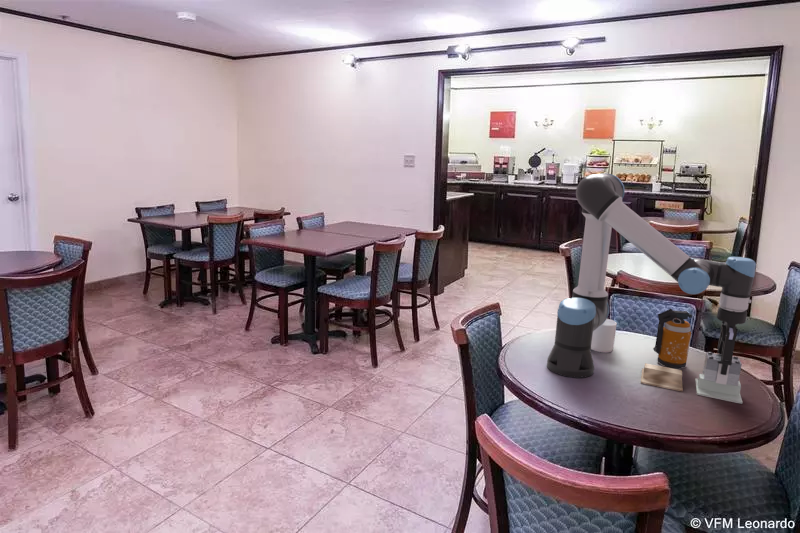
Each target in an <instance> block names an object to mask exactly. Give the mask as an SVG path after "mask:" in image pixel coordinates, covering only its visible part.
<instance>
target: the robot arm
mask: <svg viewBox="0 0 800 533" xmlns="http://www.w3.org/2000/svg"><path fill="white" fill-rule="evenodd" d="M625 191H626V190H625V185H624V184H623V181H622V180H621V179H620V178H619V177H618V176H616V175H614V174H611V173H607V172H604V173H603V172H600V173H594V174H593V173H592V174H589V175H586V176H585V177H584V178H582V179H581V180H580V181H579V183H578V184H577V187H576V189H575V196H576V200H577V202H578V204H579V205H580V206H581V208H582V210H581V214H582V215H583V216H584V218H585V223H584V224H585V225H584V231H583V238H582V239H583V240H582V248H581V250H582V251H581V256H580V266H579V273H578V274H579V275H578V276H579V277H578V283H577V284H578V285H577V286H576V287H574V288H573V290H572V297H571V298H570V297H568V298H564V299H563V300H561V302H559V305H558V308H557V319H556V327H555V336H554V345H553V347H552V349H551V350H550V353H549V355H548V357H547V361H546V367H547V369H548V370H550V371H551V372H552V373H555V374H558V375H561V376H564V377H568V378H578V379H579V378H580V379H581V378H588V377H590V376H593V374H594V370H595V364H594V359H593V355H592V349H591V343H592V335H593V331H594V330H595V329H597V328H598V327H599V326H600V325H602V324H603V323H604V322H605V321H606V319H608V317H609V314H610V306H609V302H608V298H609V293H608V292H607V291H606V289H605V284H606V277H607V270H608V269H607V267H608V260H609V253H610V244H611V238H612V237H611V236H612V229H614V230H615V231H616V232H617V233H619V235H621V236H622V237H623V238H625V239H626V240H627V241H628V242H629V243H630V244H632V245H633V246H634V247H635V248H636V249H637V250H639V251H640V252H641V253H642V254H644V256H646V257H647V258H648V259H650V260H651V261H652V262H654V264H656V266H658V267H659V268H661V270H663V271H664V272H665V273H667V275H669V276H670V277H671V278H672V279H673V280H675V281H676V282H677V284H678V286H679V287H678V288H680V289H681V291H683V293H686V294H689V295H699V294H701V293H703V291H704V292H705V290H707V289H708V288H709V286H712V287H719V288H721V292H720V296H719V301H718V302H719V303H718V305H719V307H718V308H717V314H716V318H717V320H719V321H721V326H720V334H719V339H718V344H717V346H716V348H717V354H720V355H721V361H718V363H719V367H718V373H717V378H716V383H719V384H724V385H726V383H727V378H728V373H729V367H730V365H731V364H732V357H734V350H735V345H736V340H737V336H738V335H737V334H738V330H739V329H738V328H737V326H736V325H743V324H745V323H746V320H747V316H748V315H747V314H748V312H747V311H748V309H749V304H751V303H752V299H750V298H751V294H752V289H753V285H754V279H755V275H756V267H757V263H756V261H755V260H753V259H752V258H749V257H742V256H729V257H727V259H726V261H725V262H724V261H723V262H722V261H716V260H715V261H714V260H713V261H712V260H708V259H702V258H696V257H694V258H693V257H691V256H689V254H686V252H684V251H683V250H682V249H681V248H680V247H678V246H677V245H675V244H674V243H673V242H672V241H671V240H670V239H668V238H667V237H666V236H665V235H663V234H662V233H661V232H660V231H659V230H657V229H656V228H655V227H654V226H653V225H651V224H650V223H649V222H648V221H646V220H645V219H644V218H642V217H641V216H640V215H639V214H637V213H636V212H635V211H634V210H633V209H631V208H630V207H629V206H628V205H626V204H625V203H624V201H623V198H624V196H625V193H626V192H625ZM726 360H727V361H726Z"/></svg>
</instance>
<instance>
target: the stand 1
mask: <svg viewBox="0 0 800 533" xmlns="http://www.w3.org/2000/svg"><path fill="white" fill-rule="evenodd" d="M640 384H643V385H644V384H645V385H647V386H652V387H653V386H654V387H658V388H663V389H667V390H672V391H677V392H678V391H679V392H683V390H684V389H683V370H682V369H674V368H669V367H666V366H663V365H662V366H661V365H656V364H651V363H646V362H645V363H644V367H643V368H641V375H640Z"/></svg>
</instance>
